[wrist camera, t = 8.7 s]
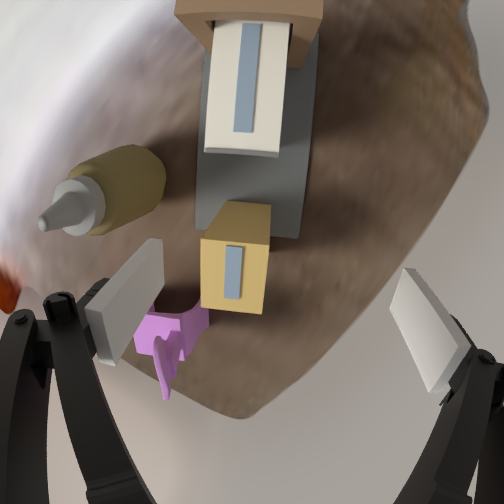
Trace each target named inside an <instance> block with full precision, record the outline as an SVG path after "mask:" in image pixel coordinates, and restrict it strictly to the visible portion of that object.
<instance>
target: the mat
mask: <svg viewBox="0 0 504 504" xmlns="http://www.w3.org/2000/svg"><path fill="white" fill-rule="evenodd" d="M289 33H290V28H289ZM288 40H289V36H288ZM318 44H319V32H316V35H315V37H314V39H313V42H312V44H311V46H310V48H309V51H308V53H307V55H306V58H305V60H304V62H303V65H302V67H301V69H300V70H297V69H288V68H286V75H285V87H284V99H283V111H282V122H281V133H280V144H279V155H278V157H277V158H276V157H266V156H254V155H241V154H226V153H207V152H204V147H205V130H206V115H207V101H208V89H209V77H210V66H211V56H212V55H211V54H210V53H209V52H208V51H207V50H206V48H205V58H204V68H203V79H202V90H201V103H200V117H199V133H198V152H197V175H196V209H195V229H199V230H207V229H208V227H209V226H210V224H211V223H212V221H213V219H214V218H215V216H216V215H217V213H218V212H219V210H220V209H221V207H222V206H223V204H224V203H225V201H236V202H248V203H258V204H269V205H271V222H270V236H273V237H283V238H293V239H299V232H300V225H301V217H302V210H303V202H304V194H305V186H306V177H307V169H308V160H309V151H310V141H311V132H312V121H313V110H314V99H315V87H316V74H317V60H318Z"/></svg>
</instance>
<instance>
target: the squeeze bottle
mask: <svg viewBox="0 0 504 504" xmlns="http://www.w3.org/2000/svg"><path fill="white" fill-rule="evenodd" d="M166 179H167V178H166V169H165V167H164V165H163V163H162V161H161V160H160V159H159V158H158V157H157V156H156V155H154V154H153V153H152V152H151V151H149V150H148V149H147V148H145V147H141V146H138V145H134V144H132V145H126V146H121V147H118V148H116V149H113V150H111V151H108V152H106V153H103V154H101V155H99V156H96V157H94V158H91V159H89V160H87V161H85V162H82V163H80V164H78V165H77V166H76V167H75V168H74V169H73V170H71V171H70V172H69V174H68V176H67V179H66V180H64V181H62V182H61V183H60V184H59V185H58V186H57V188H56V190H55V192H54V195H53V205H51V206H50V207H49V208H48V209H47V210H46V211H45V212H44V213H43V214H42V215H40V216H39V218H38V226H39V228H40V230H41V231H43V232H47V231H51V230H56V229H60V228H62V229H63V230H64V231H65V232H67V233H69V234H71V235H73V236H83V235H85V234H89V235H91V236H95V235H104V234H106V233H108V232H110V231H112V230H114V229H116V228H118V227H121V226H123V225H125V224H127V223H129V222H131V221H133V220H135V219H138V218H140V217H142V216H144V215H146V214H147V213H149V212H151V211H153V210H154V209H155V207H156V206H157V205H158V203H159V202H160V201H161V199H162V196H163V192H164V188H165V184H166Z"/></svg>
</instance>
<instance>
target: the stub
mask: <svg viewBox="0 0 504 504" xmlns="http://www.w3.org/2000/svg"><path fill="white" fill-rule="evenodd" d="M270 222H271V205H269V204H258V203H248V202H236V201H225V203H224V204H223V206H222V207H221V209H220V210H219V212H218V213H217V215H216V216H215V218H214V219H213V221H212V223H211V224H210V226H209V227H208V229H207V230H206V232H205V233H204V235H203V236H202V238H201V307H203V308H211V309H219V310H227V311H236V312H245V313H255V314H262V307H263V299H264V290H265V281H266V272H267V263H268V254H269V244H270Z"/></svg>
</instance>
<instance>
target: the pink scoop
mask: <svg viewBox="0 0 504 504" xmlns="http://www.w3.org/2000/svg"><path fill="white" fill-rule="evenodd" d="M208 327H209V308H203V307H201V297H200V299H199V301H198V302H197V304H196V305H195V306H194V308H192V309H191V310H188V311H186V312H184V313H180V314H172V313H159V312H155V308H154V302H153V304H152V305H151V307H150V309H149V310H148V312H147V314H146V315H145V317H144V319H143V320H142V322H141V324H140V325H139V327H138V329H137V330H136V332H135V334H134V340H135V346H136V350H137V353H141V354H147V355H153V357H154V362H155V367H156V371H157V374H158V378H159V381H160V384H161V388H162V392H163V399H164V401H166V400H168V399H169V397H170V391H171V386H170V378H174V379H175V378H176V373H177V367H178V362H179V360H182V361H185V359H186V356H188V355H189V354H190V353H191V352H192V350H193V348H194V345H195V343H196V340H197V338H198V336H199V335H200V333H201V332H202V331H203V330H204V329H206V328H208Z"/></svg>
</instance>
